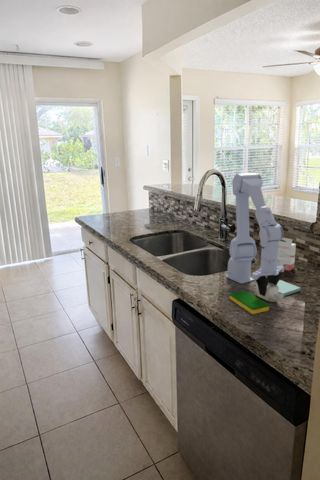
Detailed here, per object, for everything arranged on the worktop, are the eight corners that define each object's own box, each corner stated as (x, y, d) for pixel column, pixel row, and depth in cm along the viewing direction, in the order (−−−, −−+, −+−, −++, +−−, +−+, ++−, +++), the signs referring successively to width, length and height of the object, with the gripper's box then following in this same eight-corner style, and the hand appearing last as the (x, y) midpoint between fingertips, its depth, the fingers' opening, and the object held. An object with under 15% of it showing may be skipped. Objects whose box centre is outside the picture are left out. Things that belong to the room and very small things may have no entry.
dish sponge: (244, 296, 131) (245, 290, 131) (269, 311, 119) (269, 304, 118) (228, 299, 129) (229, 293, 128) (252, 315, 116) (252, 308, 116)
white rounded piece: (253, 294, 130) (254, 281, 129) (260, 291, 132) (261, 279, 131) (276, 305, 121) (277, 291, 120) (284, 302, 123) (285, 289, 122)
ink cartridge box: (294, 268, 158) (297, 237, 154) (289, 271, 155) (292, 239, 151) (276, 264, 164) (278, 234, 160) (271, 267, 160) (274, 236, 157)
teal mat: (258, 286, 139) (258, 283, 139) (275, 280, 144) (275, 278, 144) (282, 296, 129) (283, 293, 129) (300, 290, 134) (300, 287, 134)
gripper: (263, 265, 117) (261, 302, 120) (292, 257, 124) (288, 292, 128) (248, 259, 122) (246, 295, 126) (276, 252, 130) (273, 286, 133)
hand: (266, 293), depth 127 cm, fingers closed on white rounded piece, 4 cm apart
